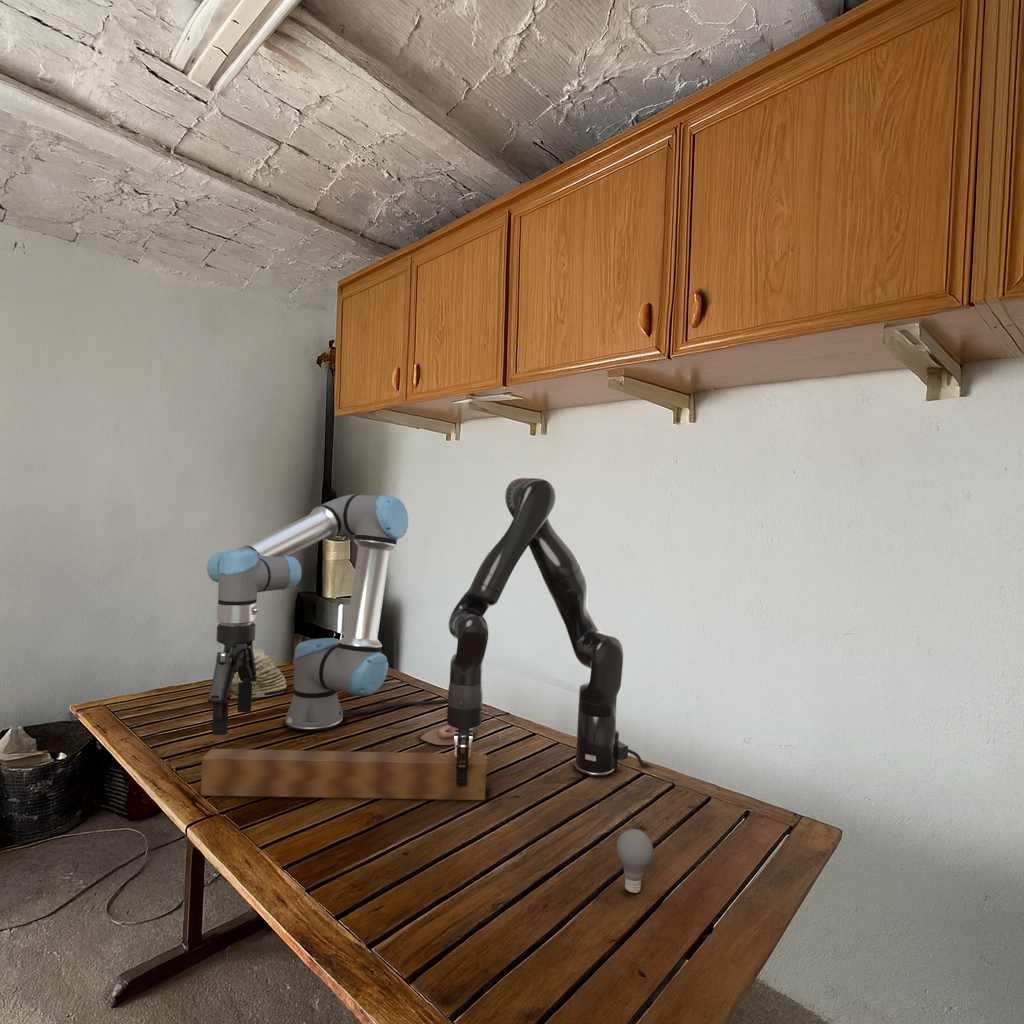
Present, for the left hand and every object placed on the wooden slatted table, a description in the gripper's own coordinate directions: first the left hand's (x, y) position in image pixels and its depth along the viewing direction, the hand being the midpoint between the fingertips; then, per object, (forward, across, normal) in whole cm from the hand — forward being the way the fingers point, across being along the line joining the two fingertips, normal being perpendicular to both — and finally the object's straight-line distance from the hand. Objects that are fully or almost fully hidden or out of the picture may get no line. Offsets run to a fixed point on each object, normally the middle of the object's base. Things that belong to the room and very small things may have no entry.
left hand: (232, 722), depth 134 cm
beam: (+14, 0, -25) cm, 29 cm away
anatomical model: (+14, +32, -45) cm, 57 cm away
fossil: (+14, +64, +17) cm, 68 cm away
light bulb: (+15, -34, -78) cm, 87 cm away
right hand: (+11, 0, -49) cm, 50 cm away
